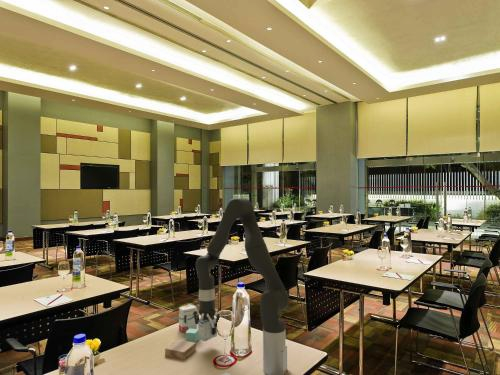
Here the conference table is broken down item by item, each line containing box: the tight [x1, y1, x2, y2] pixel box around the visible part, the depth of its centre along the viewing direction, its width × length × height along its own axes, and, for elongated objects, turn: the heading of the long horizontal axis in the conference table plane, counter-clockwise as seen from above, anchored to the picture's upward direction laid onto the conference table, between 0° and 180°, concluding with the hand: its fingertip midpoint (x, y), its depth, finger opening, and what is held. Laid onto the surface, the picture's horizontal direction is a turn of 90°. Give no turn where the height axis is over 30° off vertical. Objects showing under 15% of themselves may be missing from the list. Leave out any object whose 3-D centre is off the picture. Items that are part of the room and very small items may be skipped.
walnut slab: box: [164, 339, 197, 360], centre depth 165 cm, size 10×10×4 cm
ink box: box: [178, 304, 198, 333], centre depth 191 cm, size 8×5×12 cm, turn 123°
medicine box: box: [197, 317, 218, 342], centre depth 169 cm, size 8×4×9 cm, turn 136°
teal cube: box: [184, 328, 200, 344], centre depth 177 cm, size 5×5×5 cm
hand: (207, 333), depth 169 cm, fingers closed on medicine box, 5 cm apart
